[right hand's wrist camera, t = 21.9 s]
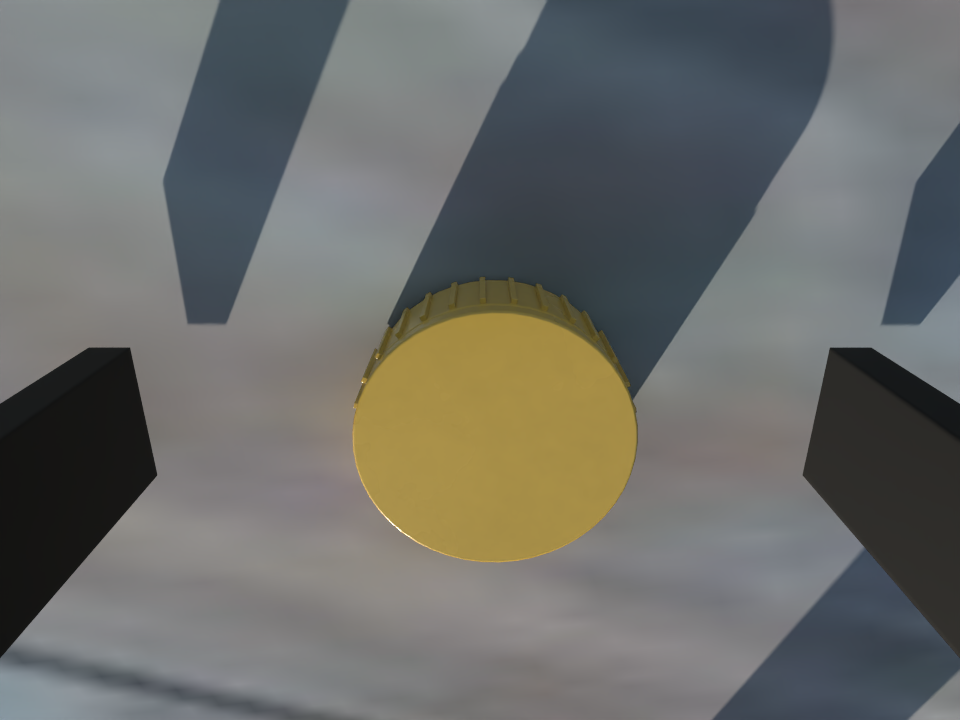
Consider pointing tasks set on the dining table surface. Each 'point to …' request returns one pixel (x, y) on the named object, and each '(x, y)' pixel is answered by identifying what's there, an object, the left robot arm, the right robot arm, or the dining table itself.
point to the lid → (494, 422)
